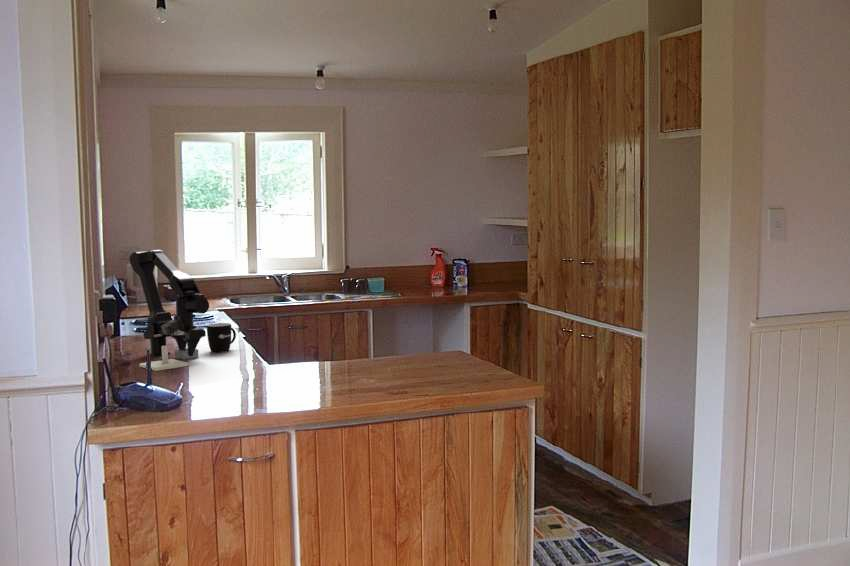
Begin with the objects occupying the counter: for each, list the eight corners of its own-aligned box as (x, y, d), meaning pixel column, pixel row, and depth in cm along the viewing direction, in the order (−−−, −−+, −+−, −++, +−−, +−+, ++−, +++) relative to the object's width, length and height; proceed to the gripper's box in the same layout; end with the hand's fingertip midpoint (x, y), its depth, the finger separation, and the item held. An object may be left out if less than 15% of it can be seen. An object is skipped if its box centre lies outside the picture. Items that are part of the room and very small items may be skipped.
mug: (218, 354, 302) (216, 326, 301) (202, 352, 307) (201, 325, 307) (243, 349, 312) (242, 322, 311) (228, 347, 317) (227, 321, 316)
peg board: (139, 366, 280) (138, 346, 279) (172, 361, 288) (171, 341, 287) (155, 370, 271) (154, 350, 270) (188, 365, 279) (187, 345, 279)
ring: (175, 358, 295) (174, 349, 295) (190, 355, 299) (190, 347, 299) (183, 360, 291) (182, 351, 290) (198, 357, 295) (198, 349, 295)
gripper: (151, 312, 295) (153, 355, 296) (175, 316, 281) (178, 361, 283) (180, 309, 302) (182, 351, 304) (205, 313, 289) (207, 356, 290)
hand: (186, 355), depth 295 cm, fingers closed on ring, 6 cm apart
